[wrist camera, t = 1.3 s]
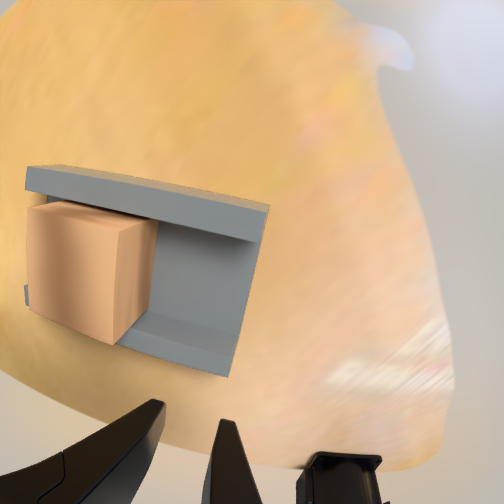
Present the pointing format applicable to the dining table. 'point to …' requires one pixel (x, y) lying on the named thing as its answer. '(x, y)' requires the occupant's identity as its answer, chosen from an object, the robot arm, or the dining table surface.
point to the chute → (177, 260)
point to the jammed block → (89, 266)
